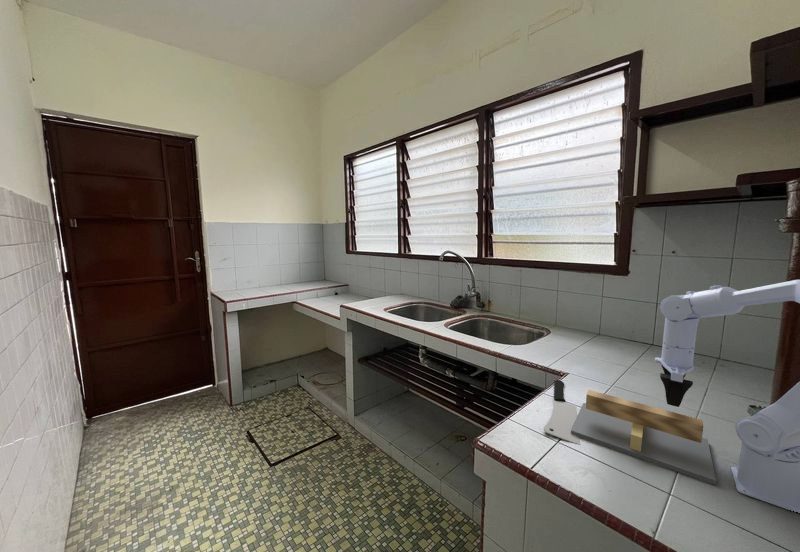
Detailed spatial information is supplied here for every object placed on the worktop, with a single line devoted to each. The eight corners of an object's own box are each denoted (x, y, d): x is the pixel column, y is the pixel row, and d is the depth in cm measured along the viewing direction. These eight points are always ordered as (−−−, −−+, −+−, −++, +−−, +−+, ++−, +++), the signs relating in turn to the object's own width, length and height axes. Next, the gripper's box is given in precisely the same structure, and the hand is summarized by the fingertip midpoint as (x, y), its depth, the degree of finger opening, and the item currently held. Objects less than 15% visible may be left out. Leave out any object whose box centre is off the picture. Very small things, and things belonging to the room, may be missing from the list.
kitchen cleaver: (589, 445, 74) (543, 429, 79) (588, 451, 74) (542, 435, 79) (584, 386, 101) (550, 377, 106) (583, 391, 102) (549, 382, 106)
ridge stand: (707, 442, 75) (709, 425, 74) (715, 485, 63) (718, 464, 62) (583, 405, 91) (583, 391, 91) (570, 433, 79) (571, 417, 78)
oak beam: (700, 436, 70) (702, 419, 70) (701, 443, 68) (703, 426, 68) (587, 403, 84) (588, 389, 84) (585, 408, 82) (586, 394, 82)
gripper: (657, 333, 82) (652, 382, 84) (656, 350, 71) (650, 405, 73) (693, 338, 78) (687, 390, 80) (698, 357, 67) (691, 416, 69)
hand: (672, 398), depth 76 cm, fingers open, 7 cm apart
